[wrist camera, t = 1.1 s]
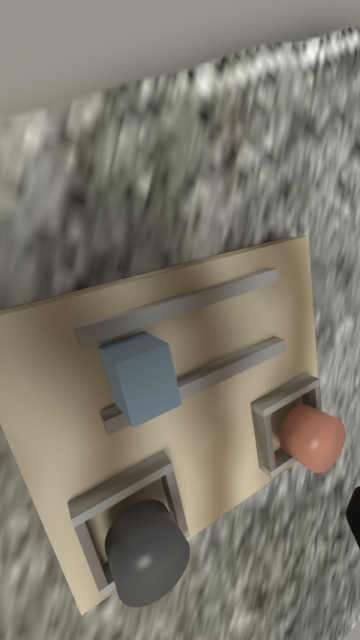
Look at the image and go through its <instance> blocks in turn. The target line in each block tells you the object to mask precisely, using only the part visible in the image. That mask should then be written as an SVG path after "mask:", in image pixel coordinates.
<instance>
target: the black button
mask: <svg viewBox="0 0 360 640" xmlns="http://www.w3.org/2000/svg"><path fill="white" fill-rule="evenodd" d="M104 547H105V553H106V556H107V559H108V563H109V566H110V569H111V572H112V576H113V579H114V582H115V586H116V589H117V592H118V595H119V598H120V600H121V601H122V602H123V603H124V604H126V605H128V606H131V607H142V606H146V605H149V604H151V603H153V602H155V601H157V600H159V599H160V598H162V597H163V596H164V595H165V594H167V593H168V592H169V591H170V590H171V589H172V588H173V587H174V586H175V585H176V583H177V582H178V581H179V579H180V578H181V576H182V575H183V573H184V571H185V569H186V566H187V564H188V560H189V555H190V548H189V544H188V541H187V540H186V538H185V536H184V535H183V533H182V531H181V530H180V528H179V526H178V525H177V523H176V522H175V520H174V518H173V517H172V515H171V513H170V512H169V510H168V509H167V507H166V506H165V504H163V503H162V502H160V501H158V500H153V499H148V500H142V501H139V502H137V503H134V504H133V505H131V506H129V507H128V508H126V509H125V510H124V511H123V512H121V513H120V514H119V515H118V516H117V518H116V519H115V520H114V521H113V523H112V524H111V526H110V528H109V530H108V532H107V534H106V538H105V544H104Z"/></svg>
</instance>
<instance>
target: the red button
mask: <svg viewBox="0 0 360 640" xmlns="http://www.w3.org/2000/svg"><path fill="white" fill-rule="evenodd" d="M279 441H280V445H281V448H282V449H283V451H285V452H286V453H287V454H289V455H290V456H292V457H293V458H294V459H296V460H297V461H299V462H300V463H302V464H303V465H304V466H306V467H307V468H309V469H310V470H311V471H313V472H315V473H322V472H324V471H326V470H328V469H329V468H330V467H331V466H332V465H333V464H334V463H335V462H336V460H337V459H338V457H339V455H340V453H341V451H342V448H343V445H344V441H345V428H344V425H343V423H342V422H341V421H340V420H339V419H336V418H334V417H332V416H330V415H328V414H326V413H324V412H322V411H320V410H318V409H316V408H314V407H312V406H310V405H307V404H301V405H298V406H297V407H295V408H294V409H292V410H291V411H290V412H289V414H288V415H287V416H286V418H285V420H284V421H283V424H282V426H281V430H280V436H279Z"/></svg>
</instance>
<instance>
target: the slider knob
mask: <svg viewBox="0 0 360 640" xmlns="http://www.w3.org/2000/svg"><path fill="white" fill-rule="evenodd" d="M98 348H99V352H100V355H101V359H102V362H103V365H104V369H105V372H106V376H107V379H108V383H109V386H110V390H111V393H112V397H113V400H114V402H115V404H116V405H117V407H118V408H119V409H120V411H121V412H122V414H123V415H124V417H125V418H126V419H127V421H128V422H129V424H130V425H131V427H132V428H135V427H137V426H139V425H141V424H143V423H145V422H147V421H149V420H151V419H153V418H155V417H157V416H160V415H162V414H164V413H166V412H168V411H170V410H172V409H174V408H176V407H178V406H180V405H182V402H181V398H180V393H179V389H178V384H177V379H176V375H175V370H174V365H173V361H172V356H171V352H170V347H169V344H168V343H167V342H165V341H163V340H161V339H159V338H157V337H155V336H153V335H151V334H150V333H148V332H146V331H142V332H139V333H136V334H133V335H130V336H127V337H125V338H122V339H119V340H116V341H113V342H110V343H107V344H104V345H101V346H98Z"/></svg>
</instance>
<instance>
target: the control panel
mask: <svg viewBox="0 0 360 640" xmlns="http://www.w3.org/2000/svg"><path fill="white" fill-rule="evenodd" d="M142 331H146V332H148V333H150V334H151V335H153V336H155V337H157V338H159V339H161V340H163V341H165V342H167V343H168V344H169V347H170V352H171V356H172V361H173V365H174V370H175V375H176V379H177V384H178V389H179V393H180V398H181V402H182V405H180V406H178V407H176V408H174V409H172V410H170V411H168V412H166V413H164V414H162V415H160V416H157V417H155V418H153V419H151V420H149V421H147V422H145V423H143V424H141V425H139V426H137V427H135V428H132V427H131V425H130V424H129V422H128V421H127V419H126V418H125V417H124V415H123V414H122V412H121V411H120V409H119V408H118V407H117V405H116V404H115V402H114V400H113V397H112V393H111V390H110V386H109V383H108V379H107V376H106V372H105V369H104V365H103V362H102V359H101V355H100V352H99V348H98V346H101V345H104V344H107V343H110V342H113V341H116V340H119V339H122V338H125V337H127V336H130V335H133V334H136V333H139V332H142ZM301 404H307V405H310V406H312V407H314V408H316V409H318V410H320V411H322V408H321V392H320V379H319V378H318V373H317V357H316V342H315V326H314V311H313V295H312V280H311V264H310V249H309V236H298V237H288V238H282V239H278V240H275V241H271V242H267V243H263V244H259V245H255V246H251V247H247V248H243V249H239V250H235V251H231V252H227V253H223V254H219V255H215V256H212V257H208V258H204V259H200V260H196V261H192V262H188V263H184V264H180V265H176V266H172V267H168V268H164V269H160V270H156V271H152V272H149V273H145V274H141V275H137V276H133V277H129V278H125V279H121V280H117V281H113V282H109V283H105V284H101V285H97V286H93V287H90V288H86V289H82V290H78V291H74V292H70V293H66V294H62V295H58V296H54V297H50V298H46V299H42V300H38V301H34V302H30V303H27V304H23V305H19V306H15V307H11V308H7V309H3V310H0V425H1V427H2V429H3V432H4V434H5V436H6V439H7V441H8V443H9V446H10V448H11V450H12V453H13V455H14V457H15V460H16V462H17V464H18V467H19V469H20V472H21V474H22V476H23V479H24V481H25V483H26V486H27V488H28V490H29V493H30V495H31V497H32V500H33V502H34V504H35V507H36V509H37V512H38V514H39V516H40V519H41V521H42V523H43V526H44V528H45V530H46V533H47V535H48V537H49V540H50V542H51V544H52V547H53V549H54V551H55V554H56V556H57V559H58V561H59V563H60V566H61V568H62V570H63V573H64V575H65V577H66V580H67V582H68V584H69V587H70V589H71V591H72V594H73V596H74V598H75V601H76V603H77V606H78V608H79V610H80V613H81V615H83V614H84V613H86V612H87V611H89V610H90V609H91V608H93V607H94V606H96V605H97V604H98V603H100V602H101V601H103V600H104V599H106V598H107V597H108V596H110V595H111V594H113V593H114V592H115V591H117V589H116V586H115V582H114V579H113V576H112V572H111V569H110V566H109V563H108V559H107V556H106V553H105V547H104V544H105V538H106V534H107V532H108V530H109V528H110V526H111V524H112V523H113V521H114V520H115V519H116V518H117V516H118V515H119V514H120V513H121V512H123V511H124V510H125V509H126V508H128V507H129V506H131V505H133V504H134V503H137V502H139V501H142V500H148V499H153V500H158V501H160V502H162V503H163V504H165V506H166V507H167V509H168V510H169V512H170V513H171V515H172V517H173V518H174V520H175V522H176V523H177V525H178V526H179V528H180V530H181V531H182V533H183V535H184V536H185V538H186V540H189V539H190V538H191V537H193V536H194V535H196V534H197V533H198V532H200V531H201V530H203V529H204V528H206V527H207V526H208V525H210V524H211V523H213V522H214V521H215V520H217V519H218V518H220V517H221V516H222V515H224V514H225V513H227V512H228V511H229V510H231V509H232V508H234V507H235V506H236V505H238V504H239V503H241V502H242V501H244V500H245V499H246V498H248V497H249V496H251V495H252V494H253V493H255V492H256V491H258V490H259V489H260V488H262V487H263V486H265V485H266V484H267V483H269V482H270V481H272V480H273V479H275V478H276V477H277V476H279V475H280V474H282V473H283V472H284V471H286V470H287V469H289V468H290V467H291V466H293V465H294V464H296V463H297V462H298V461H297V460H296V459H294V458H293V457H292V456H290V455H289V454H287V453H286V452H285V451H283V449H282V448H281V445H280V441H279V436H280V430H281V426H282V424H283V421H284V420H285V418H286V416H287V415H288V414H289V412H290V411H291V410H292V409H294V408H295V407H297V406H298V405H301Z"/></svg>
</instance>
